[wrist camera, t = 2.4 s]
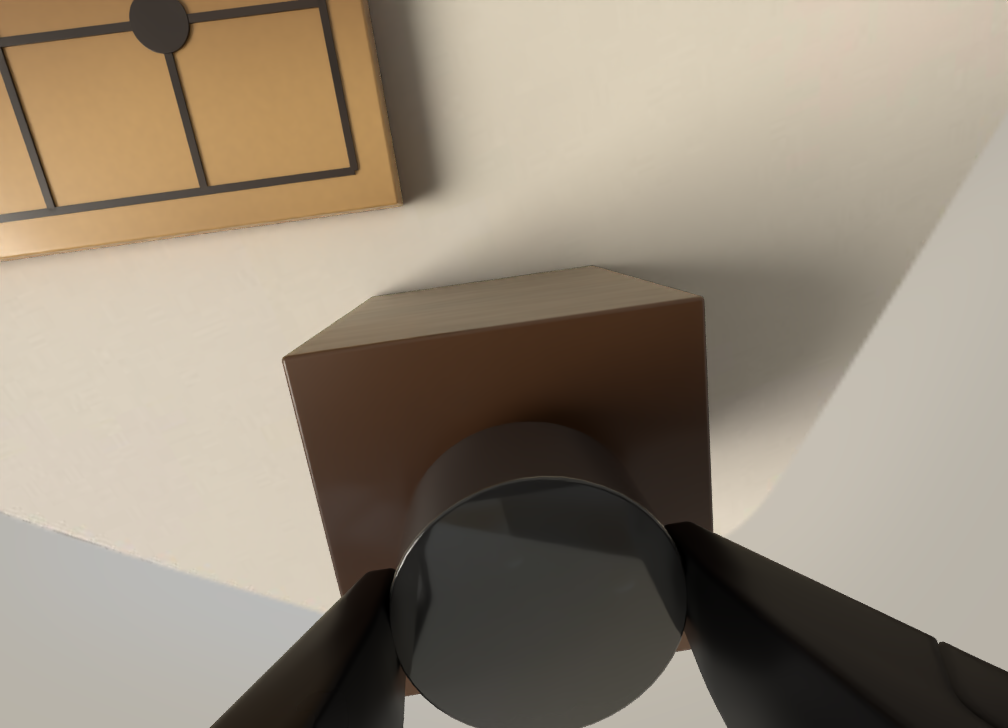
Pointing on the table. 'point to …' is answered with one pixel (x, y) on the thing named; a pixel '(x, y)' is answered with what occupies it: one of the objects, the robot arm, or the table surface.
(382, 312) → the stone stand
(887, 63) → the table surface
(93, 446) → the table surface
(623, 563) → the game stone
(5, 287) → the table surface
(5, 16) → the board
